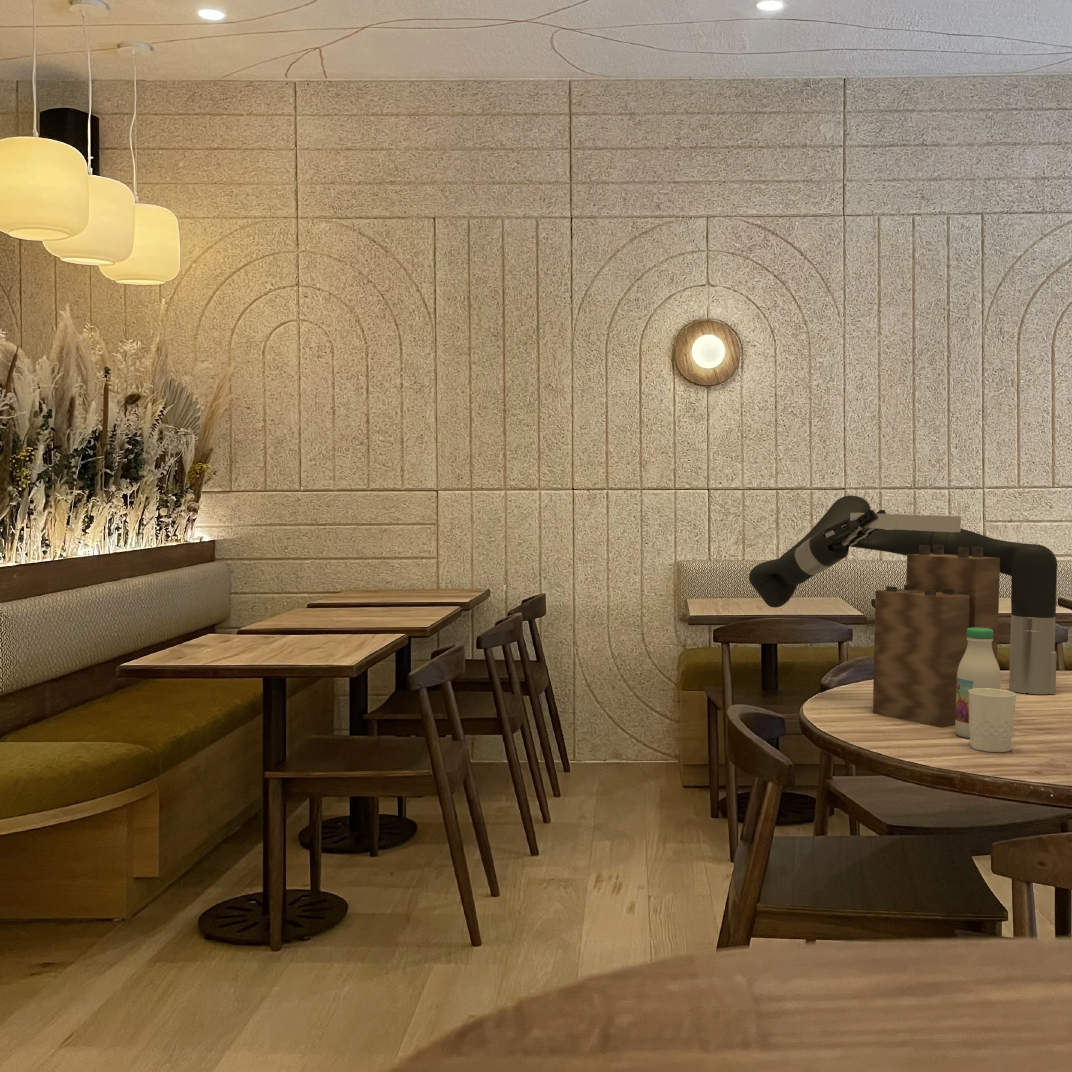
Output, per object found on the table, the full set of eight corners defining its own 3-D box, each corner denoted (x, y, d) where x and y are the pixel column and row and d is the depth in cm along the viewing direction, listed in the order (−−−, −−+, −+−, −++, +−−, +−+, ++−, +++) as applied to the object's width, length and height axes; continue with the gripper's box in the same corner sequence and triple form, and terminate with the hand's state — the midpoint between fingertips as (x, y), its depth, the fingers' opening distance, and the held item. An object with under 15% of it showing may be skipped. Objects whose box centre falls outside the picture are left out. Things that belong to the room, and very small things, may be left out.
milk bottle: (998, 733, 214) (1001, 627, 213) (1000, 742, 207) (1003, 632, 206) (954, 730, 217) (957, 625, 216) (955, 738, 209) (958, 629, 209)
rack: (872, 713, 232) (876, 546, 230) (926, 704, 242) (930, 544, 241) (941, 727, 219) (946, 550, 217) (995, 716, 230) (1000, 547, 228)
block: (850, 527, 239) (850, 512, 239) (859, 527, 240) (859, 512, 240) (951, 532, 219) (951, 516, 219) (960, 531, 221) (960, 516, 221)
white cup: (958, 743, 205) (960, 688, 205) (1001, 743, 206) (1002, 688, 206) (979, 753, 198) (981, 696, 197) (1023, 753, 198) (1024, 696, 198)
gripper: (792, 536, 244) (850, 497, 232) (836, 535, 252) (894, 497, 240) (805, 568, 241) (865, 530, 229) (849, 566, 250) (908, 529, 237)
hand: (879, 513), depth 234 cm, fingers closed on block, 3 cm apart
